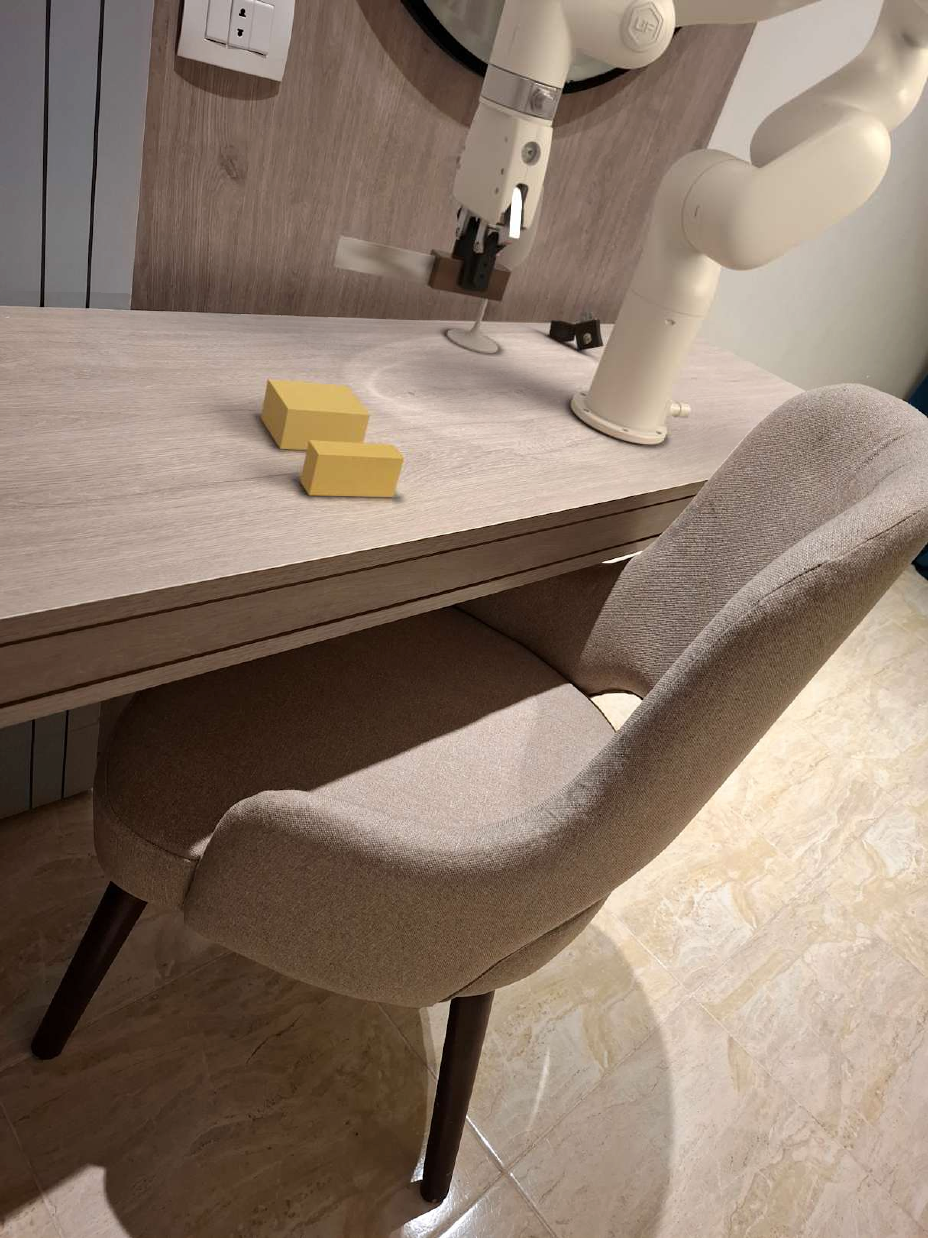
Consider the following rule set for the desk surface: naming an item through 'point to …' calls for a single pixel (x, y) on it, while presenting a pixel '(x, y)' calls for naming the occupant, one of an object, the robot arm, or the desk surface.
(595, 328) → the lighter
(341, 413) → the butter block
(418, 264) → the knife
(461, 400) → the desk surface
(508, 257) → the wineglass
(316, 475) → the butter slice
